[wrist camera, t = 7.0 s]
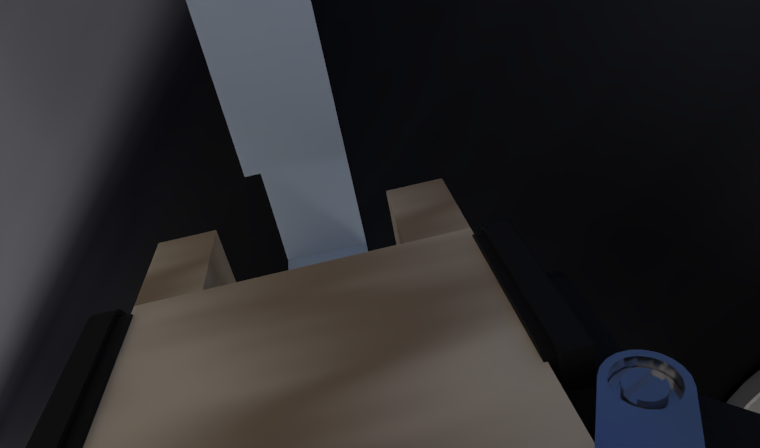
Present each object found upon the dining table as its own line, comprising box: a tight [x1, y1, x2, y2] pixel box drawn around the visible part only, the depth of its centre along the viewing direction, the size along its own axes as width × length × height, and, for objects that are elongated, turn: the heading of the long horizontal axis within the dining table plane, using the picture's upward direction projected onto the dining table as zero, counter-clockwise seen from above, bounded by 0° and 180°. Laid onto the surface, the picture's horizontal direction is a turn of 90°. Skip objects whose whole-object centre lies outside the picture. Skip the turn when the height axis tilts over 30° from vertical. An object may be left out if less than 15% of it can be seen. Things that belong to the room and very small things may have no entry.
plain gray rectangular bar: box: [186, 0, 368, 270], centre depth 17 cm, size 18×3×5 cm, turn 10°
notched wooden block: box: [83, 178, 595, 448], centre depth 10 cm, size 7×3×9 cm, turn 100°
